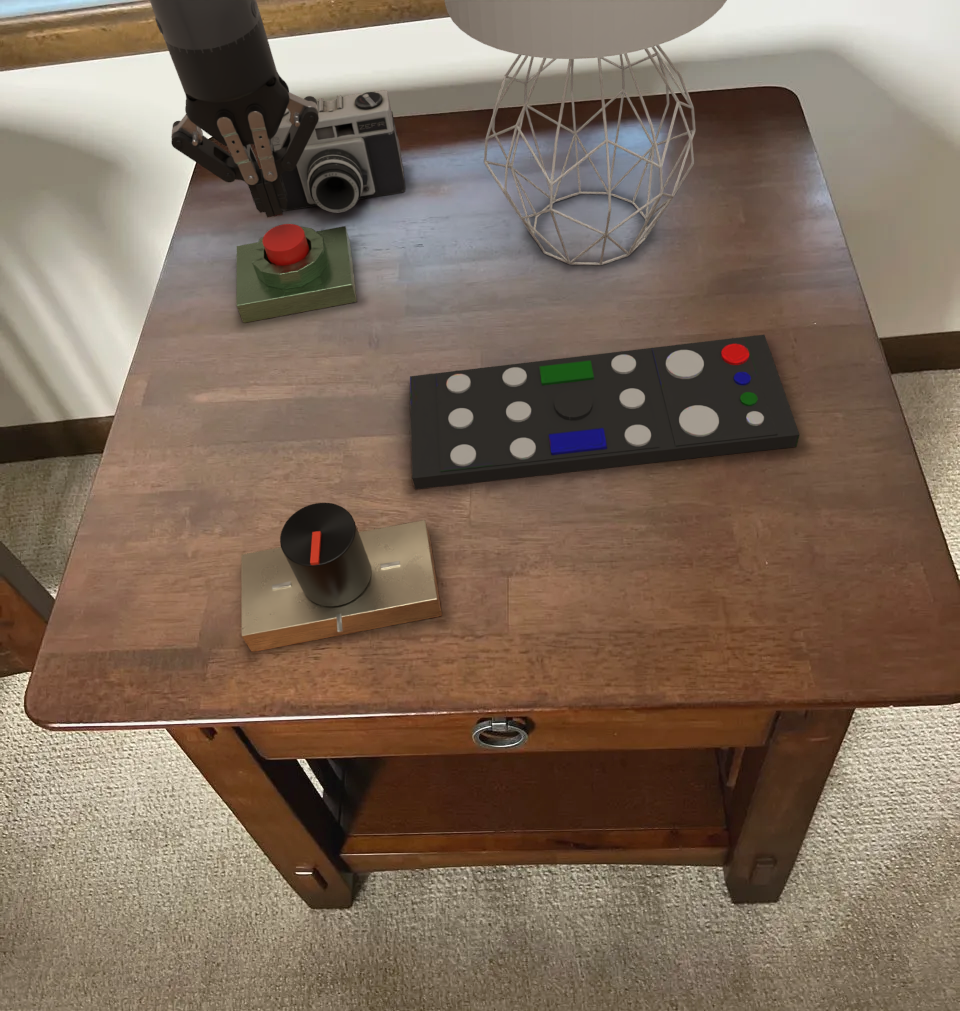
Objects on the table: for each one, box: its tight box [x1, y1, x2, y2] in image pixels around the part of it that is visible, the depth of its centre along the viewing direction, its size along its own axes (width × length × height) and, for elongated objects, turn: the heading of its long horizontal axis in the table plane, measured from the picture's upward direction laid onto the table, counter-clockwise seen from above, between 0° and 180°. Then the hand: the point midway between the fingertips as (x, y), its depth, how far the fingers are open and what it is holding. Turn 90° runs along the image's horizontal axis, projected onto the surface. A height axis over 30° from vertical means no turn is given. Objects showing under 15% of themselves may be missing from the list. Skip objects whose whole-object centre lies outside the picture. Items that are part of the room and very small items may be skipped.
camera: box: [272, 89, 406, 214], centre depth 93 cm, size 14×9×10 cm, turn 89°
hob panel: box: [240, 519, 443, 653], centre depth 67 cm, size 14×9×3 cm
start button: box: [262, 223, 309, 266], centre depth 86 cm, size 4×4×2 cm
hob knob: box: [279, 502, 371, 606], centre depth 64 cm, size 5×5×6 cm
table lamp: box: [444, 0, 728, 266], centre depth 74 cm, size 22×22×40 cm
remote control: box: [409, 334, 800, 490], centre depth 75 cm, size 11×30×2 cm, turn 94°
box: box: [235, 225, 358, 324], centre depth 89 cm, size 11×9×4 cm
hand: (274, 211), depth 84 cm, fingers closed
